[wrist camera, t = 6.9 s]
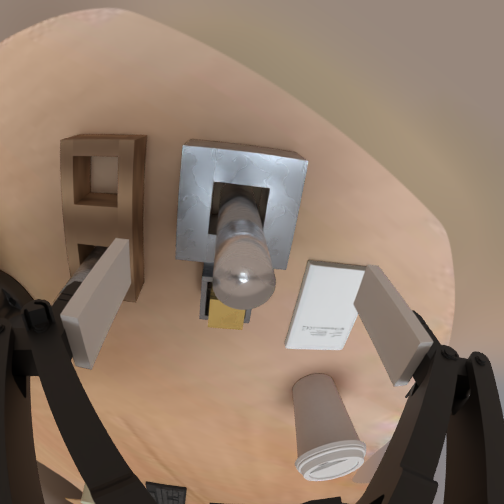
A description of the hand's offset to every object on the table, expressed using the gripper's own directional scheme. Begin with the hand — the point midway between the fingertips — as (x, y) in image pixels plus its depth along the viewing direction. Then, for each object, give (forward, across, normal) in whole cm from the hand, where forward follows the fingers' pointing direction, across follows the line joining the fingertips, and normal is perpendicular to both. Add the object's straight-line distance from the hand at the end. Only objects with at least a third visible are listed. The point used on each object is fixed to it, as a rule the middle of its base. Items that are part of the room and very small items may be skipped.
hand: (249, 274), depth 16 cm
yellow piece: (+14, -1, -9) cm, 17 cm away
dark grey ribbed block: (+16, -12, -96) cm, 98 cm away
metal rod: (+15, 0, 0) cm, 15 cm away
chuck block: (+15, -1, -3) cm, 15 cm away
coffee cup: (+16, +14, -28) cm, 35 cm away
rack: (+15, -14, -3) cm, 20 cm away
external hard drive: (+16, +12, -13) cm, 24 cm away
